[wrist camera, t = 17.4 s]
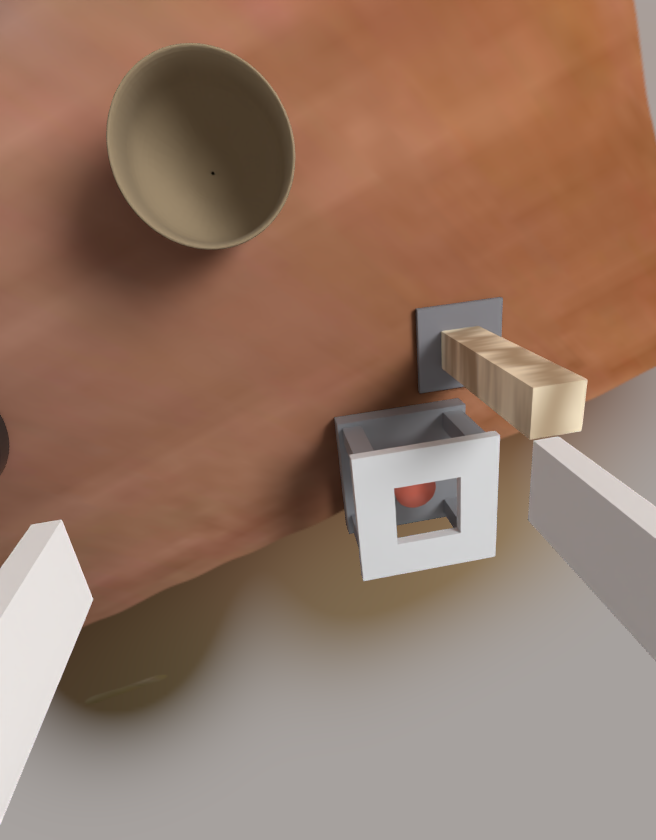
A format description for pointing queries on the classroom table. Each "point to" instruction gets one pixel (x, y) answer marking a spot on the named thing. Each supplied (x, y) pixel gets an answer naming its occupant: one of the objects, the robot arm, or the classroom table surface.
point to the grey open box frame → (416, 464)
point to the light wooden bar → (515, 382)
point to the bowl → (200, 146)
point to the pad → (449, 318)
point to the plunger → (415, 494)
